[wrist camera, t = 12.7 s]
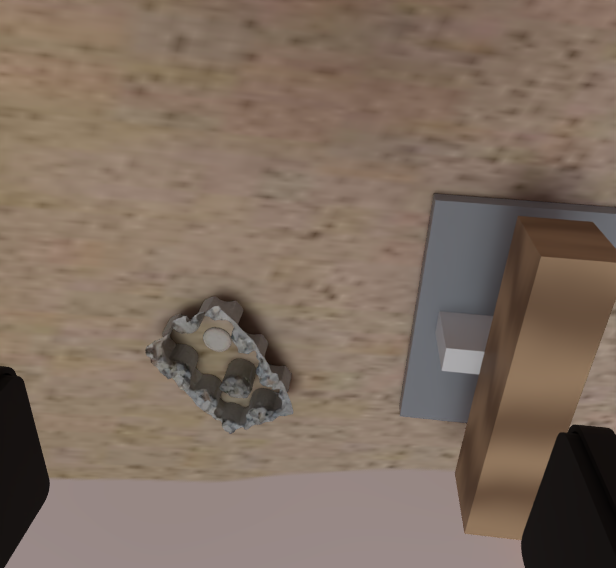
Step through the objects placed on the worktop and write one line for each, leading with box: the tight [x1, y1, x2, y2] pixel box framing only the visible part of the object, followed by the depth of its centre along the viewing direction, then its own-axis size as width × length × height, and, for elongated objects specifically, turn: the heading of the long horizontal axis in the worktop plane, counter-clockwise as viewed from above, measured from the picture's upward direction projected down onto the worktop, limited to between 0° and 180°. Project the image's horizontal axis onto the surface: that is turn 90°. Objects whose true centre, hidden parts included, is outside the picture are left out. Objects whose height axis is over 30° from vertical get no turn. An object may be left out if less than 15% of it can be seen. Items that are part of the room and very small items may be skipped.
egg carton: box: [145, 296, 293, 434], centre depth 43 cm, size 11×8×4 cm
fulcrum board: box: [399, 194, 616, 423], centre depth 38 cm, size 18×12×6 cm, turn 177°
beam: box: [455, 216, 616, 540], centre depth 34 cm, size 20×4×5 cm, turn 177°
